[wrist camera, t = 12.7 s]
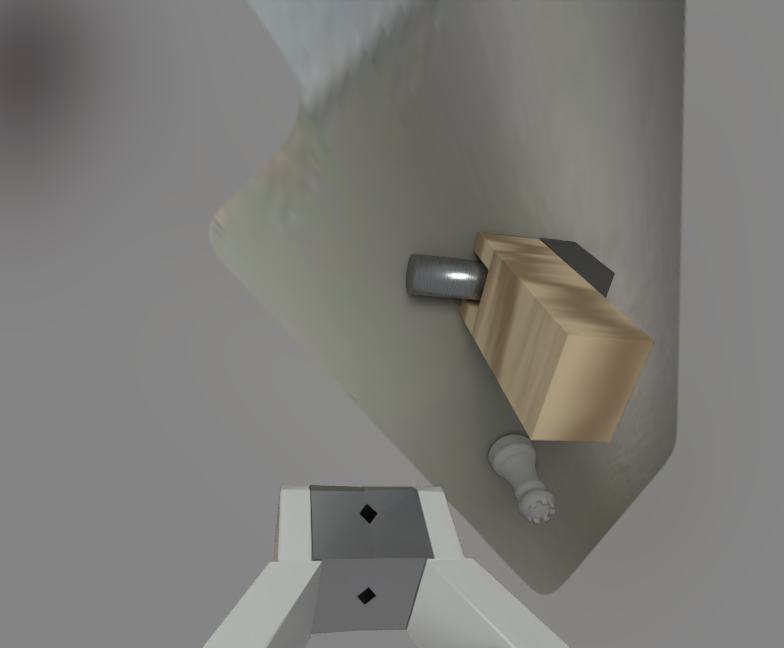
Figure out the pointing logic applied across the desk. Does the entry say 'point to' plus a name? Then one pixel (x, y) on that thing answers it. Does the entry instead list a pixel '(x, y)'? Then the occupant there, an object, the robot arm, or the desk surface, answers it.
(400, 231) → the desk surface
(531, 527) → the desk surface
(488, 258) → the tall wooden block
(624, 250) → the desk surface
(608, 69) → the desk surface
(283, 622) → the robot arm
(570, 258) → the black block
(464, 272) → the grey metal rod
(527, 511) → the rook chess piece
